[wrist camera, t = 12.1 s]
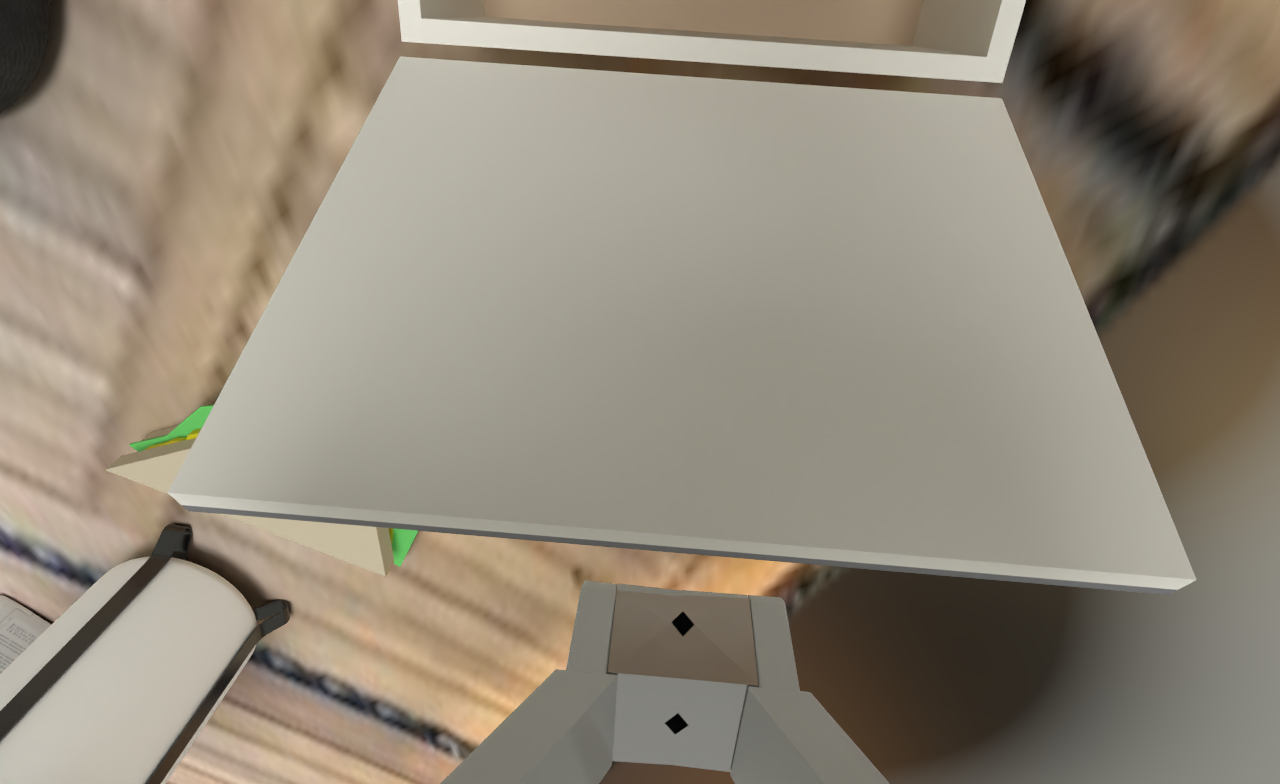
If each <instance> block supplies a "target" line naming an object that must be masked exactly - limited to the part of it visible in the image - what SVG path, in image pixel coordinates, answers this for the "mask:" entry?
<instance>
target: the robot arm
mask: <svg viewBox="0 0 1280 784" xmlns="http://www.w3.org/2000/svg"><path fill="white" fill-rule="evenodd" d="M612 761H620V762H636V763H652V764H667V765H677V766H685V767H694V768H702V769H711V770H718V771H727V772H731V774H730V775H731V777H732V778H733V781H734V782H735V784H889V783H888V781H887V780H886V779H885V778H884V777H883V776H882V774H881V773H880V772H879V771H878V770H877V769H876V768H875V766H874V765H873V764H872V763H871V762H870V761H869V760H868V758H867V757H866V756H865V755H864V754H863V753H862V751H861V750H860V749H859V748H858V747H857V746H856V744H855V743H854V742H853V741H852V740H851V739H850V738H849V736H848V735H847V734H846V733H845V732H844V731H843V730H842V728H841V727H840V726H839V725H838V724H837V723H836V721H835V720H834V719H833V718H832V717H831V716H830V715H829V713H828V712H827V711H826V710H825V709H824V708H823V706H822V705H821V704H820V703H819V702H818V701H817V700H816V698H815V697H814V696H813V695H812V694H811V693H810V692H802V691H800V689H799V684H798V677H797V672H796V666H795V659H794V654H793V648H792V642H791V636H790V630H789V624H788V618H787V612H786V606H785V602H784V601H783V599H782V598H778V597H765V596H752V595H748V597H747V595H739V594H725V593H712V592H699V591H686V590H682V591H680V590H671V589H662V588H653V587H644V586H635V585H626V584H618V587H617V584H611V583H602V582H593V581H585V580H584V583H583V585H582V587H581V592H580V597H579V603H578V608H577V614H576V619H575V624H574V630H573V635H572V641H571V646H570V652H569V657H568V663H567V668H566V670H555V671H554V672H553V673H552V674H551V675H550V676H549V677H548V678H547V679H546V680H545V681H544V682H543V683H542V684H541V685H540V686H539V687H538V688H537V689H536V690H535V691H534V692H533V693H532V694H531V695H530V696H529V697H528V698H527V699H526V700H525V701H524V702H523V703H522V704H521V705H520V706H519V707H518V708H517V709H516V710H515V711H514V712H512V713H511V714H510V715H509V716H508V717H507V718H506V719H505V720H504V721H503V722H502V723H501V724H500V725H499V726H498V727H497V728H496V729H495V730H494V731H493V732H492V733H491V734H490V735H489V736H488V737H487V738H486V739H485V740H484V741H483V742H482V743H481V744H480V745H479V746H478V747H477V748H476V749H475V750H474V751H473V752H472V753H471V754H470V755H469V756H468V757H467V758H466V759H465V760H464V761H463V762H462V763H461V764H460V765H459V766H458V767H457V768H456V769H455V770H454V771H453V772H452V773H451V774H450V775H449V776H448V777H446V778H445V779H444V780H443V781H442V782H441V783H440V784H599V783H600V781H601V780H602V778H603V777H604V775H605V774H606V773H607V771H608V770H609V768H610V767H611V765H612Z"/></svg>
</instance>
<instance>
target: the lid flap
mask: <svg viewBox="0 0 1280 784" xmlns="http://www.w3.org/2000/svg"><path fill="white" fill-rule="evenodd" d="M167 493H168V494H170V495H171V496H172V497H173V498H174V499H175V500H176V501H177V502H179V503H180V504H181V505H182V506H183V507H184V508H185V509H187V510H188V511H194V512H206V513H218V514H230V515H241V516H253V517H265V518H276V519H288V520H300V521H312V522H323V523H335V524H347V525H358V526H370V527H382V528H394V529H405V530H417V531H429V532H441V533H452V534H464V535H476V536H487V537H499V538H511V539H523V540H534V541H546V542H558V543H569V544H581V545H593V546H605V547H616V548H628V549H640V550H651V551H663V552H675V553H687V554H698V555H710V556H722V557H733V558H745V559H757V560H769V561H780V562H792V563H804V564H816V565H827V566H839V567H851V568H862V569H874V570H886V571H898V572H910V573H922V574H933V575H944V576H956V577H969V578H980V579H992V580H1003V581H1015V582H1028V583H1039V584H1050V585H1062V586H1074V587H1085V588H1098V589H1109V590H1120V591H1132V592H1145V593H1155V594H1167V595H1168V594H1171V593H1173V592H1174V591H1176V590H1178V589H1180V588H1182V587H1184V586H1186V585H1187V584H1189V583H1191V582H1193V581H1195V580H1196V578H1195V575H1194V573H1193V570H1192V568H1191V565H1190V563H1189V560H1188V558H1187V555H1186V553H1185V550H1184V548H1183V545H1182V543H1181V540H1180V538H1179V536H1178V533H1177V531H1176V528H1175V526H1174V523H1173V521H1172V518H1171V516H1170V513H1169V511H1168V508H1167V506H1166V503H1165V501H1164V498H1163V496H1162V493H1161V491H1160V488H1159V486H1158V484H1157V481H1156V479H1155V476H1154V474H1153V471H1152V469H1151V466H1150V464H1149V461H1148V459H1147V456H1146V454H1145V451H1144V449H1143V447H1142V444H1141V442H1140V439H1139V436H1138V434H1137V432H1136V429H1135V427H1134V424H1133V422H1132V419H1131V417H1130V414H1129V412H1128V409H1127V407H1126V404H1125V402H1124V399H1123V397H1122V394H1121V392H1120V390H1119V387H1118V385H1117V382H1116V380H1115V377H1114V375H1113V372H1112V370H1111V367H1110V365H1109V362H1108V360H1107V357H1106V355H1105V352H1104V350H1103V347H1102V345H1101V343H1100V340H1099V338H1098V335H1097V333H1096V330H1095V328H1094V325H1093V323H1092V320H1091V318H1090V315H1089V313H1088V310H1087V308H1086V305H1085V303H1084V300H1083V298H1082V296H1081V293H1080V291H1079V288H1078V286H1077V283H1076V281H1075V278H1074V276H1073V273H1072V271H1071V268H1070V266H1069V263H1068V261H1067V258H1066V256H1065V254H1064V251H1063V249H1062V246H1061V244H1060V241H1059V239H1058V236H1057V234H1056V231H1055V229H1054V226H1053V224H1052V221H1051V219H1050V216H1049V214H1048V211H1047V209H1046V207H1045V204H1044V202H1043V199H1042V197H1041V194H1040V192H1039V189H1038V187H1037V184H1036V182H1035V179H1034V177H1033V174H1032V172H1031V169H1030V167H1029V164H1028V162H1027V160H1026V157H1025V155H1024V152H1023V150H1022V147H1021V145H1020V142H1019V140H1018V137H1017V135H1016V132H1015V130H1014V127H1013V125H1012V122H1011V120H1010V118H1009V115H1008V113H1007V110H1006V108H1005V105H1004V103H1003V100H1002V98H989V97H975V96H961V95H946V94H932V93H917V92H903V91H889V90H874V89H860V88H845V87H831V86H817V85H802V84H788V83H773V82H759V81H745V80H730V79H716V78H701V77H687V76H673V75H658V74H644V73H630V72H615V71H601V70H586V69H572V68H558V67H543V66H529V65H514V64H500V63H486V62H471V61H457V60H442V59H428V58H414V57H400V58H399V59H398V61H397V63H396V65H395V67H394V69H393V71H392V73H391V74H390V76H389V78H388V80H387V82H386V84H385V86H384V88H383V89H382V91H381V93H380V95H379V97H378V99H377V101H376V103H375V104H374V106H373V108H372V110H371V112H370V114H369V116H368V118H367V119H366V121H365V123H364V125H363V127H362V129H361V131H360V132H359V134H358V136H357V138H356V140H355V142H354V144H353V146H352V147H351V149H350V151H349V153H348V155H347V157H346V159H345V161H344V162H343V164H342V166H341V168H340V170H339V172H338V174H337V176H336V177H335V179H334V181H333V183H332V185H331V187H330V189H329V191H328V192H327V194H326V196H325V198H324V200H323V202H322V204H321V206H320V207H319V209H318V211H317V213H316V215H315V217H314V219H313V221H312V222H311V224H310V226H309V228H308V230H307V232H306V234H305V236H304V237H303V239H302V241H301V243H300V245H299V247H298V249H297V251H296V252H295V254H294V256H293V258H292V260H291V262H290V264H289V266H288V267H287V269H286V271H285V273H284V275H283V277H282V279H281V281H280V282H279V284H278V286H277V288H276V290H275V292H274V294H273V296H272V297H271V299H270V301H269V303H268V305H267V307H266V309H265V310H264V312H263V314H262V316H261V318H260V320H259V322H258V324H257V325H256V327H255V329H254V331H253V333H252V335H251V337H250V339H249V340H248V342H247V344H246V346H245V348H244V350H243V352H242V354H241V355H240V357H239V359H238V361H237V363H236V365H235V367H234V369H233V370H232V372H231V374H230V376H229V378H228V380H227V382H226V384H225V385H224V387H223V389H222V391H221V393H220V395H219V397H218V399H217V400H216V402H215V404H214V406H213V408H212V410H211V412H210V414H209V415H208V417H207V419H206V421H205V423H204V425H203V427H202V429H201V430H200V432H199V434H198V436H197V438H196V440H195V442H194V444H193V445H192V447H191V449H190V451H189V453H188V455H187V457H186V459H185V460H184V462H183V464H182V466H181V468H180V470H179V472H178V474H177V475H176V477H175V479H174V481H173V483H172V485H171V487H170V489H169V490H168V492H167Z"/></svg>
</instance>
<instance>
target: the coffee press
mask: <svg viewBox="0 0 1280 784" xmlns="http://www.w3.org/2000/svg"><path fill="white" fill-rule="evenodd" d="M191 538H192V529H191V528H190V527H187V526H180V525H173V524H169V525H167V526H166V527H165V528H164V529H163V531H162V533H161V535H160V538H159V540H158V543H157V545H156V547H155V549H154V551H153V553H152V555H151V556H150V557H141V558H136V559H132V560H128V561H126V562H123V563H121V564H119V565H117V566H115V567H113V568H112V569H110V570H109V571H108V572H107V573H105V574H104V575H103V576H102V577H101V578H100V579H99V580H98V581H96V582H95V583H94V584H93V585H92V586H91V587H90V588H89V589H88V590H87V591H86V592H85V593H84V594H83V595H82V596H81V597H80V598H79V599H78V600H77V601H76V602H75V603H74V604H72V605H71V606H70V607H69V608H68V609H67V610H66V611H65V612H64V613H63V614H62V615H61V616H60V617H59V618H58V619H57V620H56V621H55V622H54V623H53V624H52V625H51V626H50V627H49V628H47V629H46V630H45V631H44V632H43V633H42V634H41V635H40V636H39V637H38V638H37V639H36V640H35V641H34V642H33V643H32V644H31V645H30V646H29V647H28V648H27V649H26V650H25V651H24V652H23V653H21V654H20V655H19V656H18V657H17V658H16V659H15V660H14V661H13V662H12V663H11V664H10V665H9V666H8V667H7V668H6V669H5V670H4V671H3V672H2V673H1V674H0V784H166V782H167V781H168V779H169V778H170V777H171V775H172V774H173V772H174V771H175V769H176V768H177V766H178V765H179V763H180V762H181V760H182V759H183V757H184V756H185V754H186V753H187V751H188V750H189V748H190V747H191V745H192V744H193V742H194V741H195V739H196V738H197V736H198V735H199V734H200V732H201V731H202V729H203V728H204V726H205V725H206V723H207V722H208V720H209V719H210V717H211V716H212V714H213V713H214V711H215V710H216V708H217V707H218V705H219V704H220V702H221V701H222V699H223V698H224V696H225V695H226V693H227V692H228V690H229V689H230V687H231V686H232V684H233V683H234V681H235V680H236V678H237V677H238V675H239V674H240V672H241V671H242V669H243V668H244V666H245V665H246V663H247V662H248V660H249V659H250V657H251V655H252V654H253V652H254V650H255V647H256V644H257V642H258V641H259V640H260V639H261V638H262V637H264V636H265V635H267V634H268V633H270V632H272V631H273V630H275V629H277V628H279V627H281V626H282V625H284V624H286V623H287V622H288V621H289V619H290V614H289V607H288V603H287V602H286V601H285V600H275V601H272V602H269V603H267V604H265V605H262V606H259V607H255V608H251V606H250V605H249V603H248V602H247V600H246V599H245V598H244V596H243V595H242V594H241V593H240V592H239V591H238V590H237V589H236V588H235V587H234V586H233V585H232V584H231V583H229V582H228V581H227V580H225V579H224V578H223V577H221V576H220V575H218V574H216V573H215V572H213V571H211V570H209V569H207V568H205V567H203V566H200V565H198V564H195V563H192V562H189V561H188V560H187V553H188V548H189V545H190V541H191ZM277 613H278V614H277ZM274 614H276V615H274ZM272 615H274V616H272ZM270 616H272V617H271V618H269V619H267V620H265V621H264V622H262V623H261V624H259V625H258V626H257V621H258V620H262V619H265V618H267V617H270Z"/></svg>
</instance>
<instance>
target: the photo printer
mask: <svg viewBox="0 0 1280 784" xmlns="http://www.w3.org/2000/svg"><path fill="white" fill-rule="evenodd" d="M50 626H51V624H50V623H48V622H47V621H45V620H43V619H42V618H40V617H39V616H37V615H36V614H34V613H33V612H31V611H30V610H28V609H27V608H25V607H23V606H22V605H20V604H18V603H17V602H15V601H13V600H11V599H9V598H7V597H5V596H2V595H0V674H1V673H2V672H3V671H4V670H5V669H6V668H7V667H8V666H9V665H10V664H11V663H12V662H13V661H14V660H15V659H16V658H17V657H18V656H19V655H20V654H21V653H23V652H24V651H25V650H26V649H27V648H28V647H29V646H30V645H31V644H32V643H33V642H34V641H35V640H36V639H37V638H38V637H39V636H40V635H41V634H42V633H43V632H44V631H45V630H46V629H47V628H49V627H50Z"/></svg>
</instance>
